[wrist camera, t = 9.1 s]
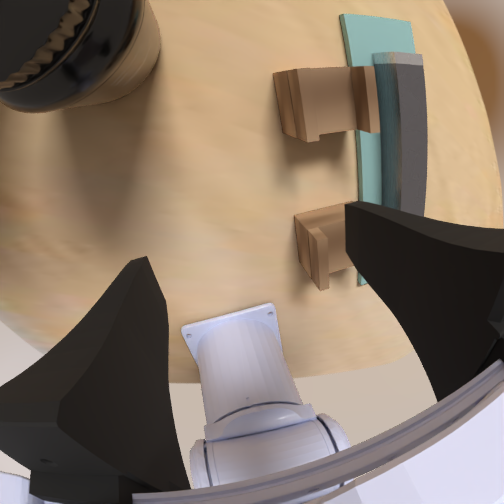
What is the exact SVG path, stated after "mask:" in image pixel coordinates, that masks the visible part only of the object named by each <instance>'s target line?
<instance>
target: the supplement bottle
mask: <svg viewBox="0 0 504 504" xmlns="http://www.w3.org/2000/svg"><path fill="white" fill-rule="evenodd" d="M160 45H161V37H160V30H159V26H158V23H157V20H156V18H155V15H154V13H153V11H152V8H151V6H150V3H149V1H148V0H0V102H1V103H2V104H4V105H5V106H7V107H9V108H11V109H13V110H16V111H19V112H24V113H46V112H51V111H57V110H63V109H68V108H74V107H80V106H87V105H94V104H101V103H107V102H111V101H114V100H117V99H119V98H121V97H123V96H125V95H127V94H129V93H130V92H132V91H133V90H134V89H136V88H137V87H138V86H139V85H140V84H141V83H142V82H143V81H144V80H145V79H146V78H147V76H148V75H149V74H150V72H151V71H152V69H153V67H154V65H155V63H156V61H157V58H158V55H159V51H160Z"/></svg>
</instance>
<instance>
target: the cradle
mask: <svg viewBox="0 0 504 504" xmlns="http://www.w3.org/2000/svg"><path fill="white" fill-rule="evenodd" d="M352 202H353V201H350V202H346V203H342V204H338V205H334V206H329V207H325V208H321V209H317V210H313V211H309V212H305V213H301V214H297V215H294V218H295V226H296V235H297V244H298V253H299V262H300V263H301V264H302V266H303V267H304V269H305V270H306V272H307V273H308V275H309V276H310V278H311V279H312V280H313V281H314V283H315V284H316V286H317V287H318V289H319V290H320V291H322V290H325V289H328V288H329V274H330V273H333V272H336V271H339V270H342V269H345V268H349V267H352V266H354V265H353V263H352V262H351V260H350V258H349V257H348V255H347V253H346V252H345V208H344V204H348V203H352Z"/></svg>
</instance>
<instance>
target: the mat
mask: <svg viewBox="0 0 504 504" xmlns="http://www.w3.org/2000/svg"><path fill="white" fill-rule="evenodd" d="M339 16H340V21H341V26H342V32H343V37H344V43H345V49H346V55H347V61H348V67H354V66H374V64H373V58H372V53H380V52H405V53H414V54H415V47H414V40H413V34H412V28H411V23H410V22H407V21H402V20H396V19H389V18H382V17H374V16H365V15H354V14H341V15H339ZM356 143H357V158H358V179H359V201H364V202H370V203H374V204H378V205H381V202H382V171H381V140H380V132H379V133H368V132H364V131H361V130H356ZM358 282H359V283H360V284H361V285H363V284H366V283H367V282H366V280H365V279H364V278H363V277H362V276H361V274H360V273H359V272H358Z"/></svg>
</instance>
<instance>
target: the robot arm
mask: <svg viewBox="0 0 504 504" xmlns="http://www.w3.org/2000/svg"><path fill="white" fill-rule="evenodd" d="M344 208H345V252H346V253H347V255H348V257H349V258H350V260H351V262H352V263H353V265H354V266H355V268H356V269H357V271H358V272H359V273H360V274H361V276H362V277H363V278H364V279H365V280H366V282H367V283H368V284H369V285H370V286H371V288H372V289H373V290H374V291H375V292H376V293H377V295H378V296H379V297H380V298H381V299H382V301H383V302H384V303H385V304H386V305H387V307H388V308H389V309H390V310H391V312H392V313H393V314H394V316H395V317H396V318H397V320H398V322H399V323H400V325H401V326H402V328H403V330H404V331H405V333H406V335H407V336H408V338H409V340H410V342H411V344H412V345H413V347H414V349H415V351H416V353H417V355H418V357H419V358H420V361H421V363H422V365H423V367H424V369H425V371H426V374H427V376H428V378H429V380H430V383H431V385H432V388H433V391H434V393H435V396H436V399H437V402H438V403H436V404H434V405H433V406H431V407H430V408H428V409H426V410H425V411H423V412H421V413H419V414H418V415H416V416H414V417H412V418H410V419H409V420H407V421H405V422H403V423H401V424H399V425H397V426H395V427H393V428H392V429H389V430H387V431H385V432H383V433H381V434H379V435H377V436H375V437H373V438H370V439H368V440H366V441H364V442H361V443H359V444H357V445H354V446H352V447H351V445H350V443H349V440H348V438H347V436H346V434H345V432H344V430H343V428H342V427H341V426H340V424H339V423H338V422H337V421H336V420H334V419H332V418H331V417H330V416H328V415H326V414H323V413H322V414H318V415H315V412H314V410H313V408H312V405H311V404H310V403H309V404H305V405H303V403H302V400H301V398H300V396H299V393H298V391H297V388H296V386H295V383H294V381H293V378H292V376H291V373H290V371H289V368H288V366H287V363H286V361H285V358H284V356H283V351H282V345H281V339H280V333H279V327H278V321H277V315H276V309H275V306H274V304H273V303H266V304H262V305H259V306H255V307H252V308H248V309H244V310H241V311H237V312H234V313H230V314H226V315H222V316H219V317H215V318H211V319H207V320H203V321H200V322H196V323H192V324H188V325H184V326H183V327H182V328H181V333H182V335H183V337H184V339H185V342H186V344H187V346H188V348H189V350H190V352H191V354H192V356H193V358H194V360H195V362H196V364H197V366H198V368H199V374H200V381H201V388H202V395H203V402H204V408H205V415H206V421H207V425H205V426H204V431H205V437H206V440H205V439H201V440H196V442H195V445H194V446H193V447H192V448H191V450H190V467H191V474H192V480H193V484H194V489H191V487H190V484H189V480H188V477H187V474H186V470H185V467H184V463H183V460H182V456H181V452H180V447H179V443H178V439H177V434H176V429H175V424H174V419H173V413H172V406H171V400H170V393H169V380H168V346H169V323H168V313H167V305H166V300H165V298H164V296H163V293H162V291H161V289H160V286H159V284H158V282H157V279H156V277H155V275H154V272H153V270H152V267H151V265H150V263H149V260H148V258H147V256H145V257H141V258H138V259H134V260H131V261H130V262H129V263H128V264H127V265H126V266H125V267H124V268H123V270H122V271H121V272H120V273H119V275H118V276H117V277H116V278H115V280H114V281H113V282H112V284H111V285H110V286H109V287H108V289H107V290H106V291H105V293H104V294H103V295H102V296H101V297H100V299H99V300H98V301H97V302H96V303H95V305H94V306H93V307H92V308H91V310H90V311H89V312H88V313H87V314H86V315H85V317H84V318H83V319H82V320H81V321H80V322H79V323H78V324H77V325H76V326H75V327H74V328H73V329H72V330H71V331H70V332H69V333H68V334H67V335H66V336H65V337H64V338H63V339H62V340H61V341H60V342H59V343H58V344H57V345H55V346H54V347H53V348H52V349H51V350H50V351H49V352H48V353H47V354H45V355H44V356H43V357H42V358H41V359H39V360H38V361H37V362H36V363H34V364H33V365H32V366H30V367H29V368H28V369H26V370H25V371H23V372H22V373H21V374H19V375H18V376H16V377H15V378H13V379H12V380H10V381H8V382H7V383H5V384H4V385H2V386H1V387H0V450H1V451H2V452H4V453H5V454H7V455H8V456H9V457H11V458H13V459H14V460H15V461H17V462H18V463H20V464H21V465H23V466H25V467H26V468H28V469H29V470H31V475H30V479H28V478H26V477H23V476H20V475H16V474H11V473H6V472H2V471H0V504H504V229H495V228H482V227H474V226H466V225H459V224H454V223H448V222H443V221H438V220H434V219H430V218H426V217H422V216H418V215H414V214H411V213H407V212H404V211H400V210H397V209H393V208H389V207H386V206H382V205H378V204H374V203H370V202H364V201H356V202H352V203H348V204H344ZM269 312H271V313H270V314H268V313H269ZM187 334H191V335H187ZM386 463H387V464H386ZM384 464H385V465H384ZM382 465H383V466H382ZM380 466H381V467H380ZM378 467H379V468H378ZM375 468H377V469H375ZM374 469H375V470H374ZM371 470H374V471H371ZM369 471H371V472H369ZM367 472H369V473H367ZM365 473H367V474H365ZM363 474H365V475H363ZM360 475H363V476H361V477H359V478H357V479H355V480H354V478H355V477H358V476H360Z"/></svg>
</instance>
